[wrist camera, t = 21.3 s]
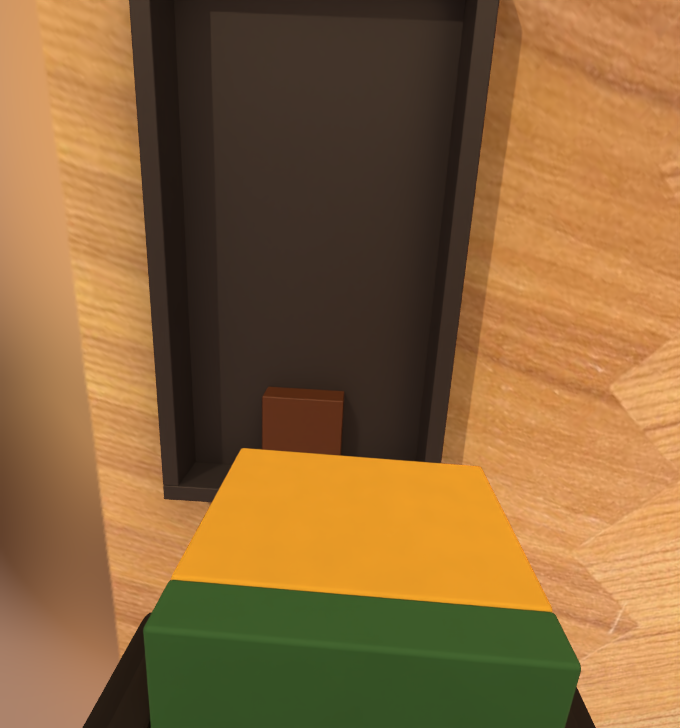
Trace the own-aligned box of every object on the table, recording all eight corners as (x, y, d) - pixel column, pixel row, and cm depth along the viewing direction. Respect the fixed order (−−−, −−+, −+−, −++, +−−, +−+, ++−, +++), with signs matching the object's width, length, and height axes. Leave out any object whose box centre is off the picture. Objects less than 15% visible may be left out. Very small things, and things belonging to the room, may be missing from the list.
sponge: (240, 446, 9) (140, 628, 5) (481, 465, 9) (585, 667, 5) (241, 696, 11) (168, 977, 7) (439, 714, 11) (487, 1011, 7)
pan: (156, -91, 19) (117, -152, 16) (491, -79, 18) (517, -139, 15) (186, 468, 26) (163, 499, 23) (425, 483, 26) (434, 517, 23)
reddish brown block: (267, 386, 24) (261, 396, 22) (344, 390, 24) (343, 401, 22) (267, 455, 25) (261, 469, 23) (340, 459, 25) (339, 474, 23)
